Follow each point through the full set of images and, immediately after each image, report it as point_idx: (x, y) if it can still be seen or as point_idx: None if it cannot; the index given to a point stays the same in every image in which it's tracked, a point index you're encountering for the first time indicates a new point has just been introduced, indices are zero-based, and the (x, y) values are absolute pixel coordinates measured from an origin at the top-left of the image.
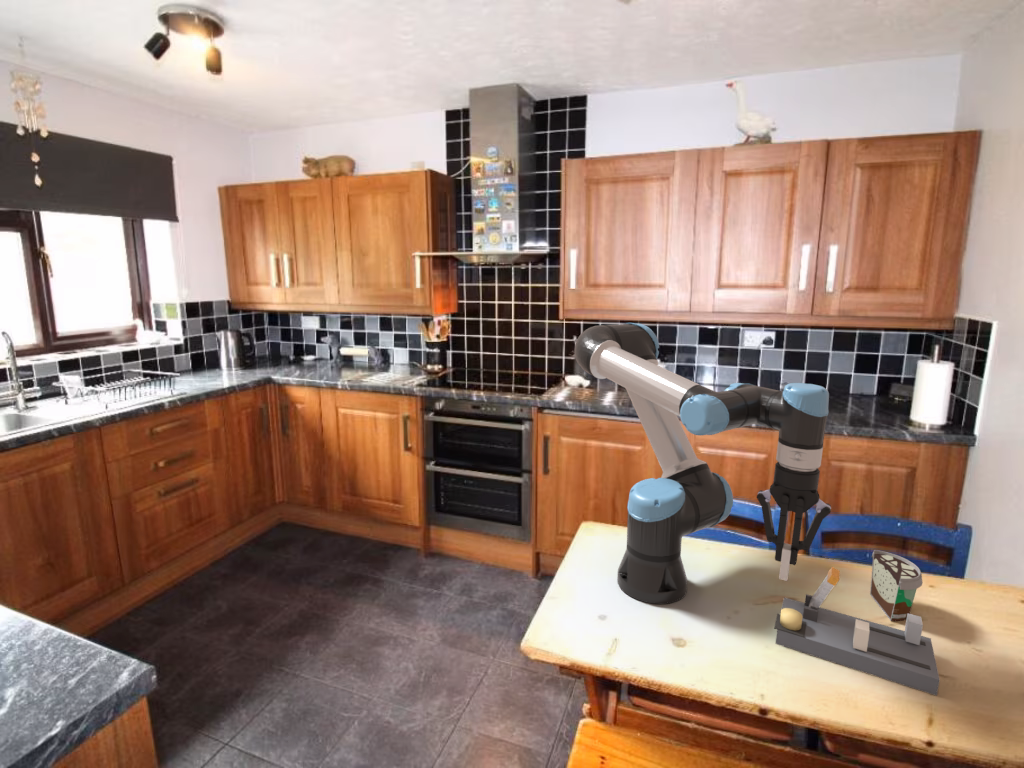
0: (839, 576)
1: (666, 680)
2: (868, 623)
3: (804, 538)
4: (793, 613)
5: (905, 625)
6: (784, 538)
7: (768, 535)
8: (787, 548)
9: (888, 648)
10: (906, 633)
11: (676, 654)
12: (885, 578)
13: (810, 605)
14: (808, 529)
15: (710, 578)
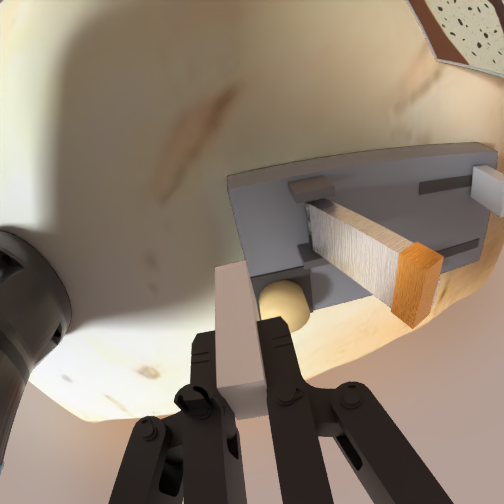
0: (434, 294)
1: None
2: (438, 282)
3: (345, 433)
4: (289, 314)
5: (484, 172)
6: (225, 430)
7: (170, 470)
8: (255, 409)
9: (443, 234)
10: (480, 199)
11: (164, 387)
12: (469, 4)
13: (318, 247)
14: (381, 483)
15: (39, 180)
